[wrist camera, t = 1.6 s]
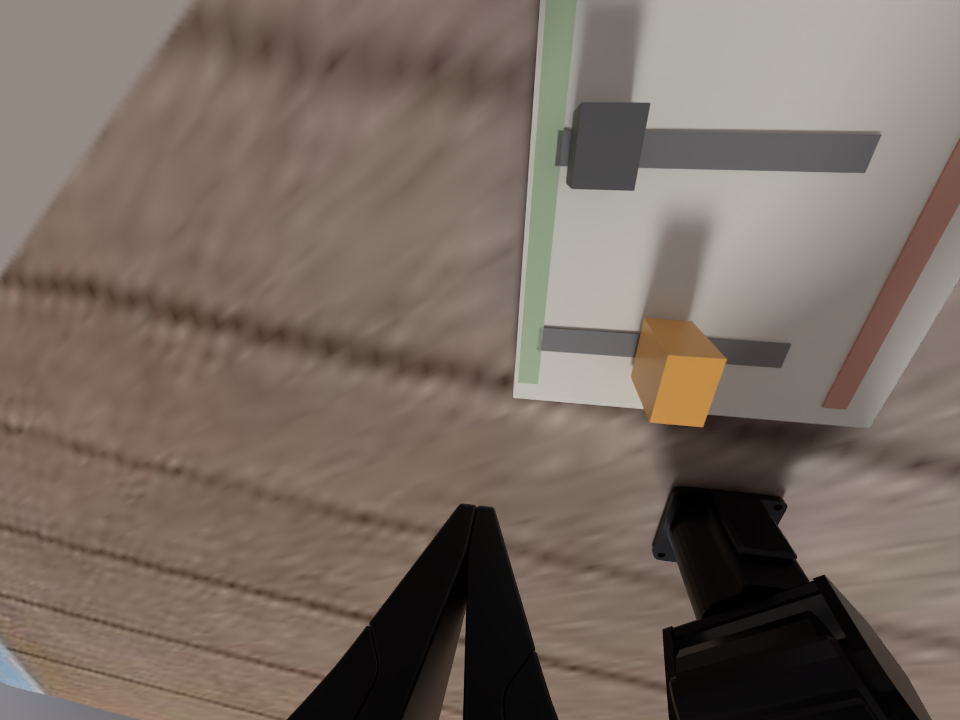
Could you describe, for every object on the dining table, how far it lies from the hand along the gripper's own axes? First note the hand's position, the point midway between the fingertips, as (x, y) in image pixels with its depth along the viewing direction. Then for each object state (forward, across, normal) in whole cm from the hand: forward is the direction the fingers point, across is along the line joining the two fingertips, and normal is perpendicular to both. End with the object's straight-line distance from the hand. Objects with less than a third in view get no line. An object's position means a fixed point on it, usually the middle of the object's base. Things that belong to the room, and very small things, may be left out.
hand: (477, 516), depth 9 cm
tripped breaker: (+10, -7, 0) cm, 12 cm away
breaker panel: (+13, -9, -7) cm, 17 cm away
